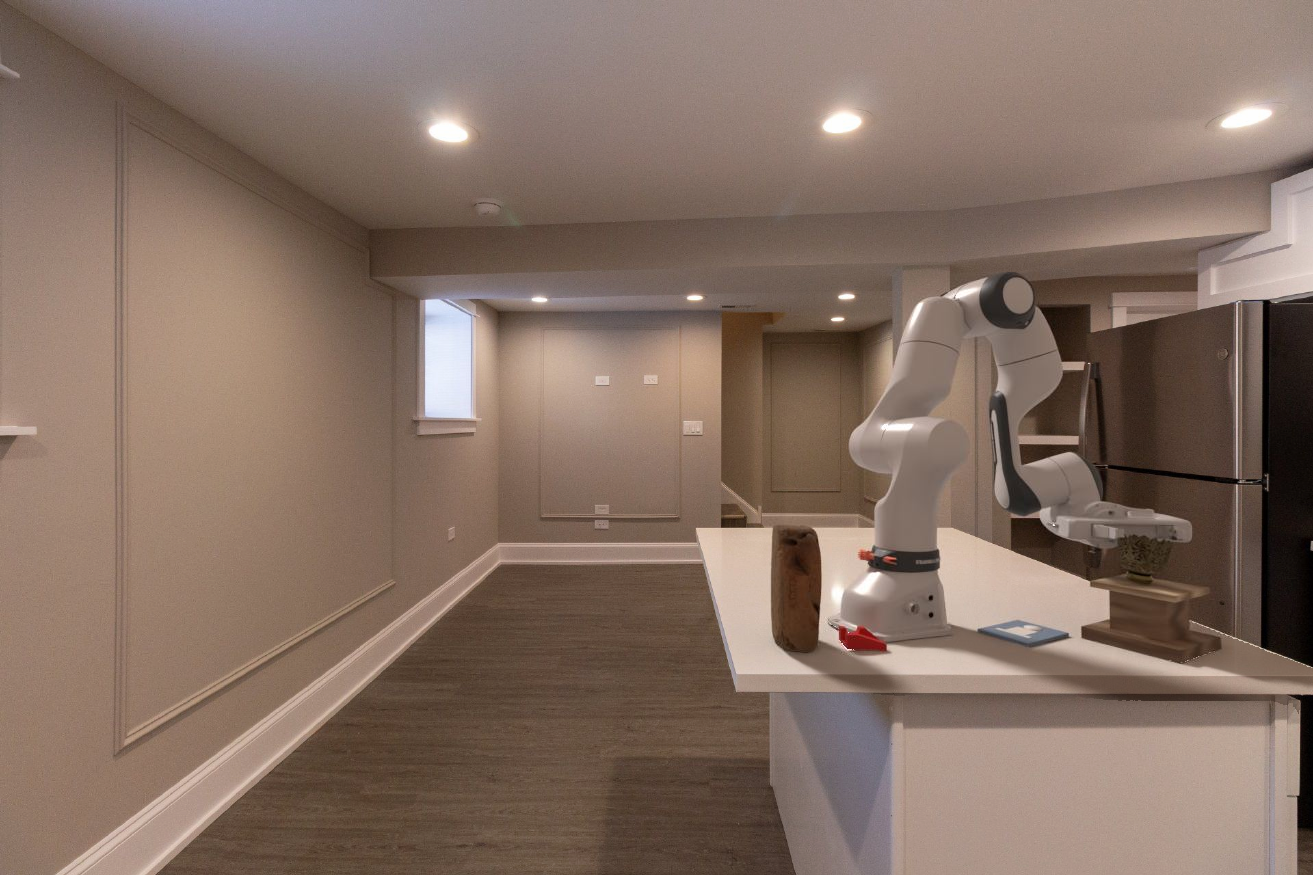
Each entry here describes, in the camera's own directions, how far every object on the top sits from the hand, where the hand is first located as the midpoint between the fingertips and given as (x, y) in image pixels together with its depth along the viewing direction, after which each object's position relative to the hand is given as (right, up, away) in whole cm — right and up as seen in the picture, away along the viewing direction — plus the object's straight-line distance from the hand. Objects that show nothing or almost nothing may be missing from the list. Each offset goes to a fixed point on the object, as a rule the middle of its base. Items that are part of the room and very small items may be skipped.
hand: (1150, 534), depth 101 cm
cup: (-1, -9, +1) cm, 9 cm away
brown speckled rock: (-60, -19, +1) cm, 63 cm away
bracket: (-49, -19, 0) cm, 52 cm away
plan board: (-18, -19, +6) cm, 27 cm away
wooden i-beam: (0, -19, +1) cm, 19 cm away
